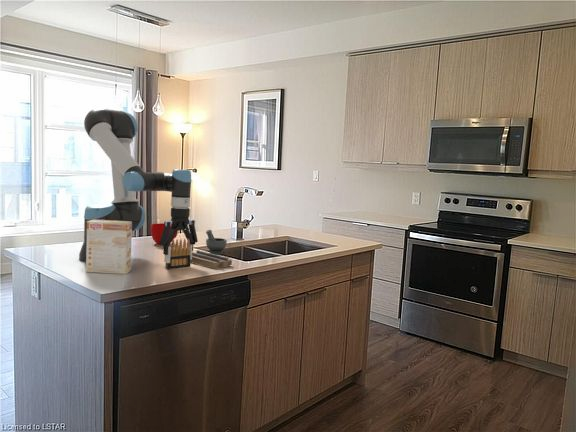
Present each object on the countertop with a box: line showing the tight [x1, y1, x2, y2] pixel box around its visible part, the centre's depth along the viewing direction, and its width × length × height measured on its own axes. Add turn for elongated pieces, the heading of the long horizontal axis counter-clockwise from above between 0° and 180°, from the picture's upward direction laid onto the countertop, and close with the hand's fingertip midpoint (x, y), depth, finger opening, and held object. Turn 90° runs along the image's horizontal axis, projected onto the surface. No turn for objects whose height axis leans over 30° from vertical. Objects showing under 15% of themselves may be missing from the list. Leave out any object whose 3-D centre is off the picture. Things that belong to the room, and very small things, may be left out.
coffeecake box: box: [85, 219, 133, 275], centre depth 177 cm, size 15×7×20 cm, turn 92°
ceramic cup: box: [150, 222, 178, 246], centre depth 240 cm, size 13×17×10 cm
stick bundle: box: [190, 249, 233, 270], centre depth 204 cm, size 10×20×4 cm, turn 51°
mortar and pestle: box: [205, 229, 228, 256], centre depth 225 cm, size 11×9×12 cm
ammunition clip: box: [164, 238, 191, 270], centre depth 191 cm, size 11×2×12 cm, turn 133°
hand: (178, 260), depth 191 cm, fingers closed on ammunition clip, 10 cm apart
